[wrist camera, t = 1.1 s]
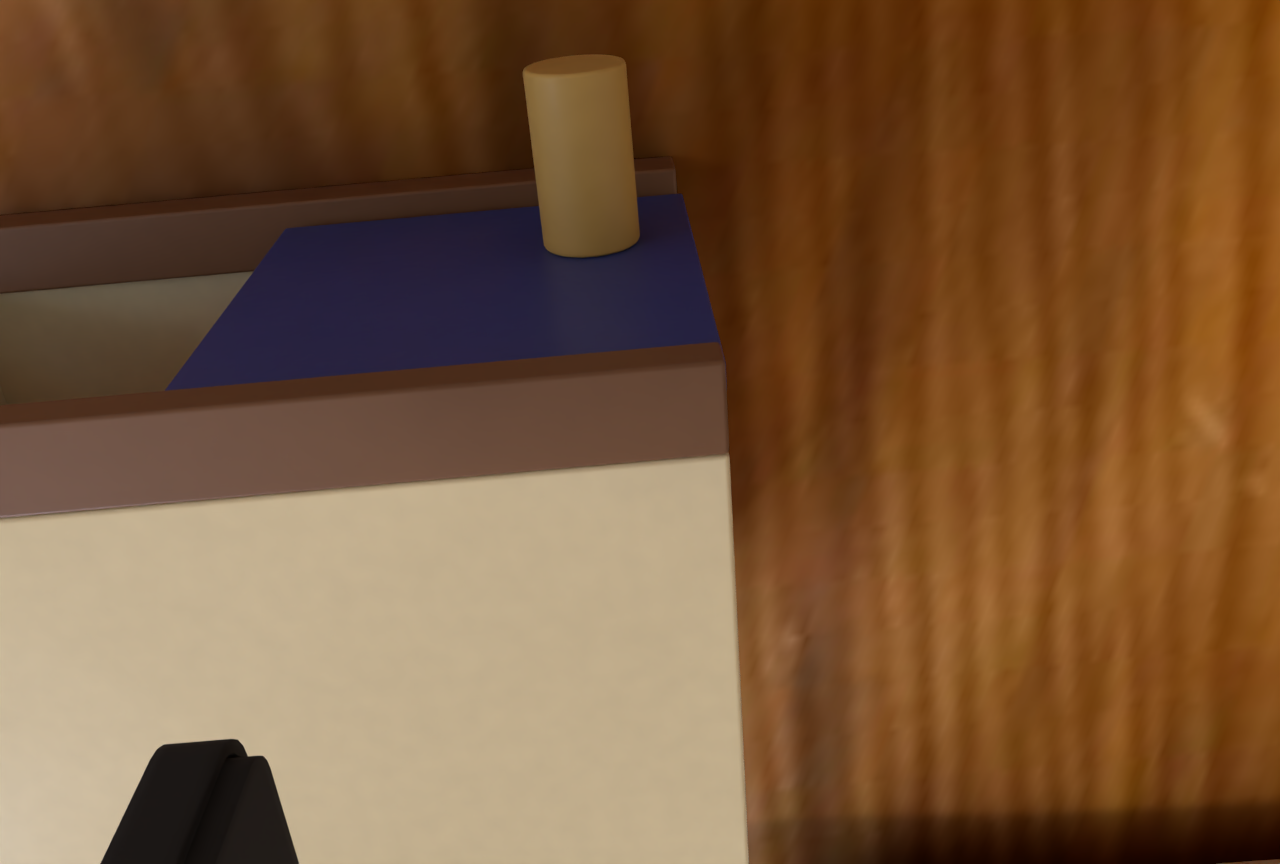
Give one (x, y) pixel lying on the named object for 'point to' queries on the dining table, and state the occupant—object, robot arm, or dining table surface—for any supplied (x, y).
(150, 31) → the dining table surface
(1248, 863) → the square plate
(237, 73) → the dining table surface
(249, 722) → the box with blue drawer
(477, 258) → the sliding door
